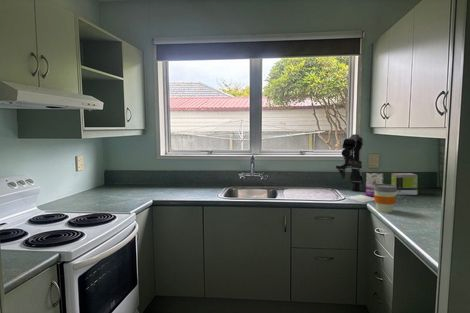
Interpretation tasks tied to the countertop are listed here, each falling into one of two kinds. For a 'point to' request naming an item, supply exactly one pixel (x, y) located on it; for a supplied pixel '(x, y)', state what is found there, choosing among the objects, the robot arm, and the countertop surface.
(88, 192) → the countertop surface
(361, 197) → the mat
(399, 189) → the tea box
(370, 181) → the candy bar box
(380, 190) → the reusable coffee cup
